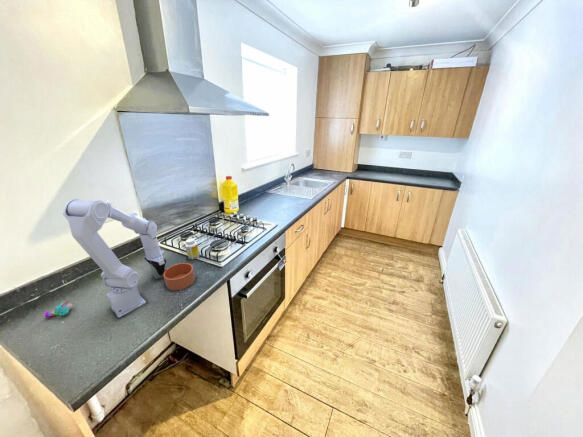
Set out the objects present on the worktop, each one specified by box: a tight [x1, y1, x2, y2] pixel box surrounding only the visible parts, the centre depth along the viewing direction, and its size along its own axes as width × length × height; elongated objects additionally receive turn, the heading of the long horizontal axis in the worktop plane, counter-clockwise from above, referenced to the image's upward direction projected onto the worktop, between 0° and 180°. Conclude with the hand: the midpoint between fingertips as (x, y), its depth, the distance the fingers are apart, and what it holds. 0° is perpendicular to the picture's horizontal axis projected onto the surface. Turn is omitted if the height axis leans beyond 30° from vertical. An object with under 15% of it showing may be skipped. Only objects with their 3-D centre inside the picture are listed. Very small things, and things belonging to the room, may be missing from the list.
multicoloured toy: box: [43, 301, 73, 318], centre depth 86 cm, size 5×8×7 cm
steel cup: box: [149, 261, 164, 280], centre depth 105 cm, size 5×5×8 cm
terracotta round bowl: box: [163, 262, 196, 291], centre depth 102 cm, size 12×12×6 cm
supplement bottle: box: [184, 237, 200, 260], centre depth 118 cm, size 6×6×10 cm
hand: (159, 271), depth 106 cm, fingers closed on steel cup, 5 cm apart
